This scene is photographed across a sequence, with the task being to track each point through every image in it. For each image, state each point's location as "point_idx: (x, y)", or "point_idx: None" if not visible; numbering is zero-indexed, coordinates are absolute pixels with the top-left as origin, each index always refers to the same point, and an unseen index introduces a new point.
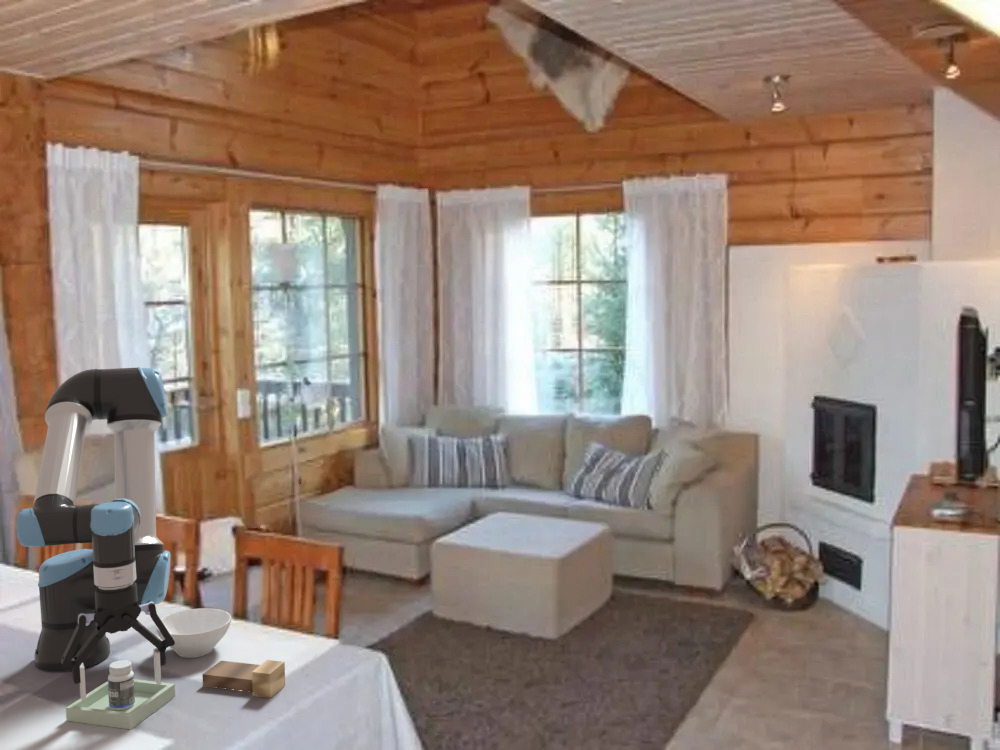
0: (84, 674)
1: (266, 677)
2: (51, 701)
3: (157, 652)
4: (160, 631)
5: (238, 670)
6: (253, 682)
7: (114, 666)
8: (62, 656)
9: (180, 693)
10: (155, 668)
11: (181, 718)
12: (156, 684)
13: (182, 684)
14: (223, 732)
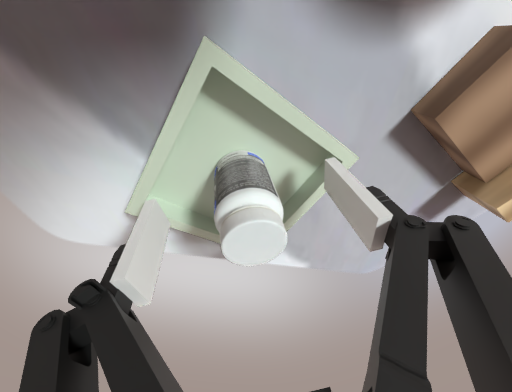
0: (155, 282)
1: (497, 214)
2: (16, 66)
3: (376, 249)
4: (453, 321)
5: (504, 125)
6: (475, 196)
7: (238, 256)
8: (30, 343)
9: (357, 132)
10: (341, 197)
11: (330, 223)
12: (322, 146)
13: (379, 79)
14: (363, 259)
